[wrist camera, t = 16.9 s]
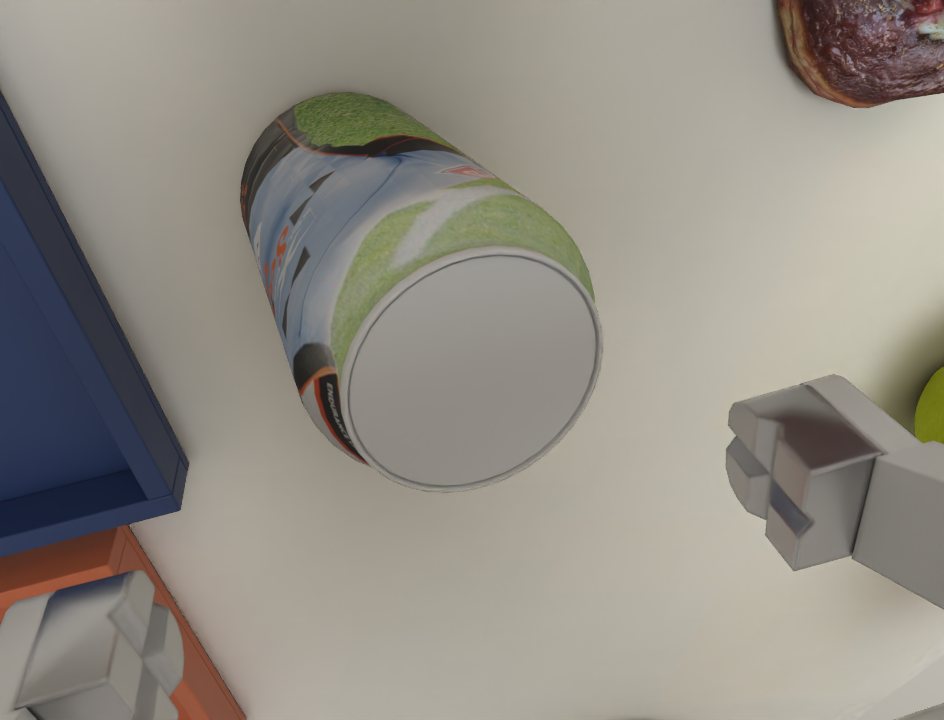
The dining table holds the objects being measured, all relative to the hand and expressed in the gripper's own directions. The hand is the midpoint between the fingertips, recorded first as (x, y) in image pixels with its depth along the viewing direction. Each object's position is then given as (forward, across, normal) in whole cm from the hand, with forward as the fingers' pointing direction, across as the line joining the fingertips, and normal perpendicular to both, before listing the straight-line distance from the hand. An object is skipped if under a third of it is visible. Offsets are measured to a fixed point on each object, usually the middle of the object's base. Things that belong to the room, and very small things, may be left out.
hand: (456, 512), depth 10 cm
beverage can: (+15, 0, 0) cm, 15 cm away
